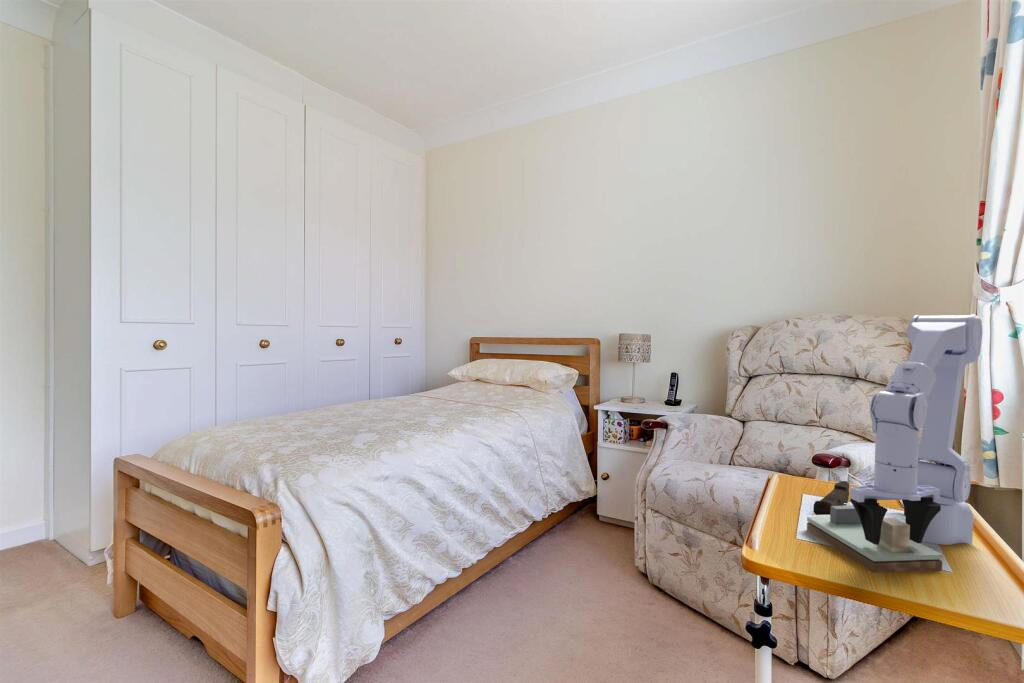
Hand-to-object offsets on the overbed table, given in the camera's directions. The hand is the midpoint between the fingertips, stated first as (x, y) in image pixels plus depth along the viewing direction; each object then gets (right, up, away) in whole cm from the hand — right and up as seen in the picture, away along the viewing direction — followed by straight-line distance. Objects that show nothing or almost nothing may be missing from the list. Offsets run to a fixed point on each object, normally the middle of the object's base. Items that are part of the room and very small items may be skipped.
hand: (893, 541), depth 82 cm
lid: (0, -2, +5) cm, 5 cm away
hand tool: (+9, -4, +29) cm, 31 cm away
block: (0, -4, 0) cm, 4 cm away
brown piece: (0, -5, +5) cm, 7 cm away
